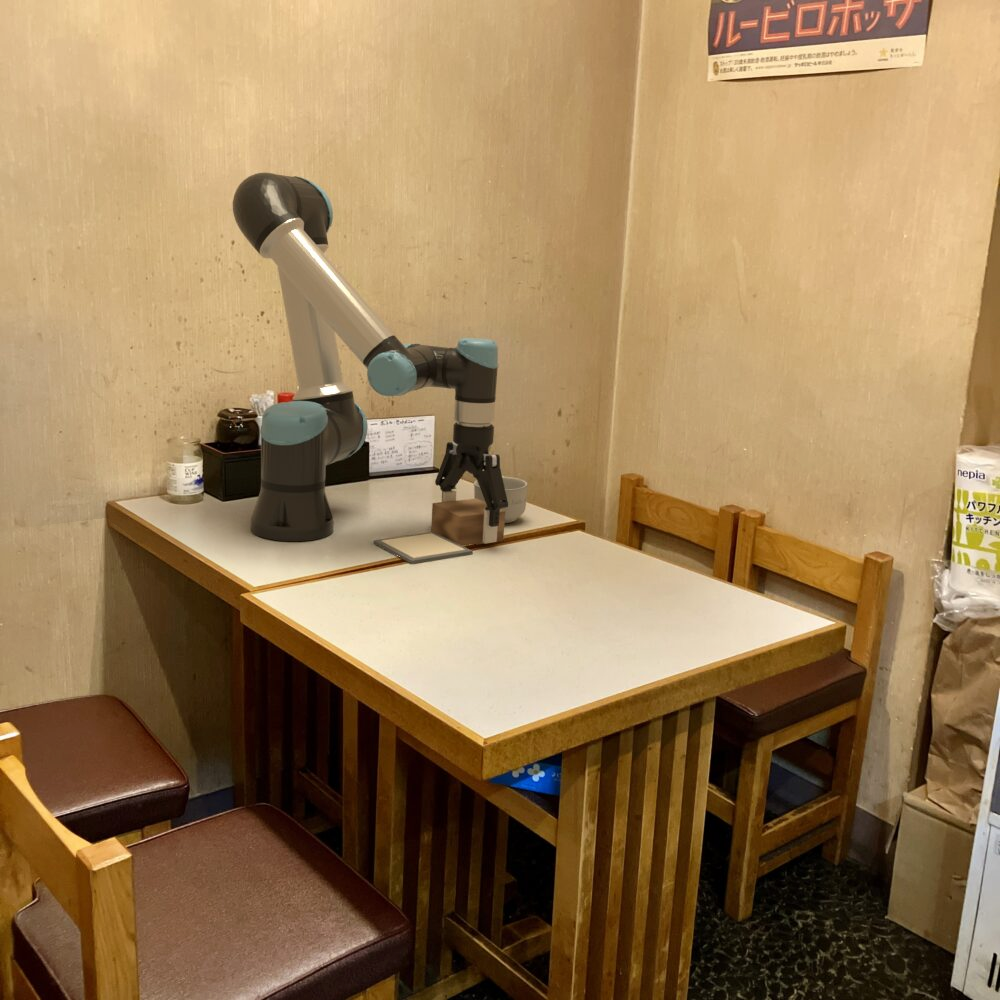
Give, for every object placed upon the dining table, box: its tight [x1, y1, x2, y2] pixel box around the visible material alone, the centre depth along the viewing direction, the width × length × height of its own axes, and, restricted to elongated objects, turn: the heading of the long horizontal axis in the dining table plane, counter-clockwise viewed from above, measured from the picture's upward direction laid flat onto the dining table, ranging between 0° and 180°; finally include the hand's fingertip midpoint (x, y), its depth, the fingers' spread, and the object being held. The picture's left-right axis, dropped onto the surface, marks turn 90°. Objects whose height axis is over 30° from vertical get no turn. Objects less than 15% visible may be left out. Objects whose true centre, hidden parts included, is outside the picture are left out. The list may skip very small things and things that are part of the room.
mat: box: [372, 531, 474, 565], centre depth 181 cm, size 13×13×1 cm
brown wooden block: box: [430, 498, 506, 546], centre depth 190 cm, size 10×10×6 cm
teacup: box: [473, 475, 528, 524], centre depth 204 cm, size 14×11×8 cm
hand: (468, 532), depth 190 cm, fingers open, 13 cm apart
